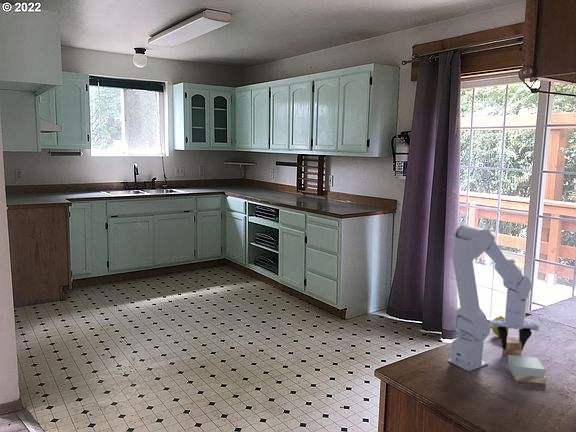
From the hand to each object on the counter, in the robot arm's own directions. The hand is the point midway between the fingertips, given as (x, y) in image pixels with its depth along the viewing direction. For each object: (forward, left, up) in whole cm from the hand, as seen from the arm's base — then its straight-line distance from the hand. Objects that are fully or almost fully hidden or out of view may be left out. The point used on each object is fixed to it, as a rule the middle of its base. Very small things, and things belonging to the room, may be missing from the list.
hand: (511, 349), depth 154 cm
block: (0, 0, -2) cm, 2 cm away
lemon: (+9, +11, -2) cm, 14 cm away
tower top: (-9, -11, 0) cm, 14 cm away
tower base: (-9, -11, -3) cm, 15 cm away
